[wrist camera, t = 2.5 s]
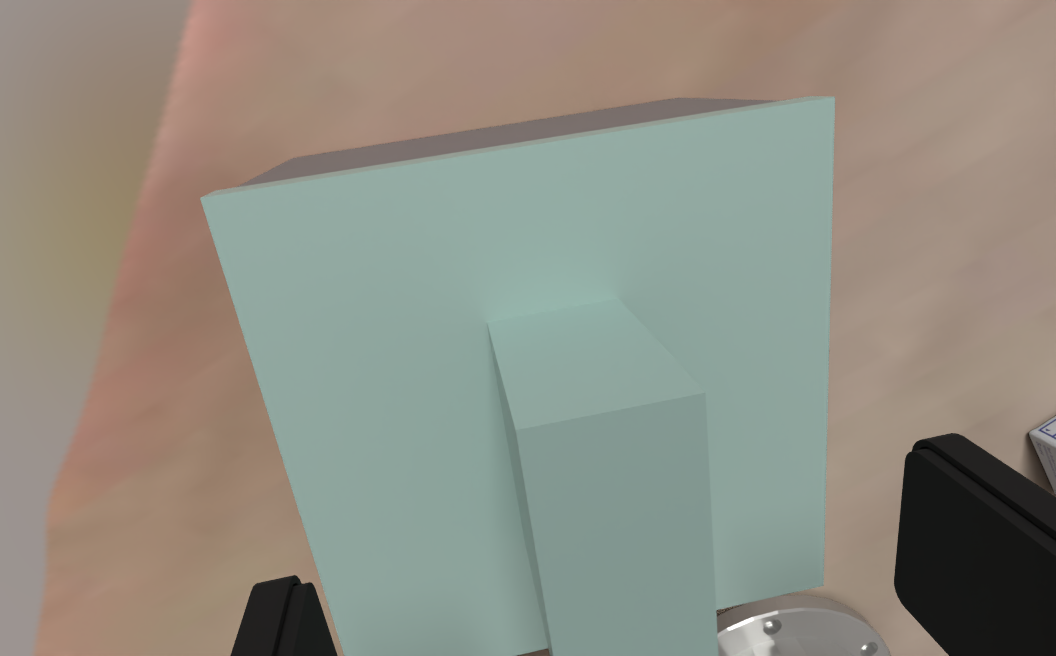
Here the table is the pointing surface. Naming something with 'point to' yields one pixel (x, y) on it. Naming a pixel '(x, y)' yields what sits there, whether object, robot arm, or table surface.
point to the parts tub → (495, 136)
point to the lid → (551, 380)
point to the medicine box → (1046, 448)
